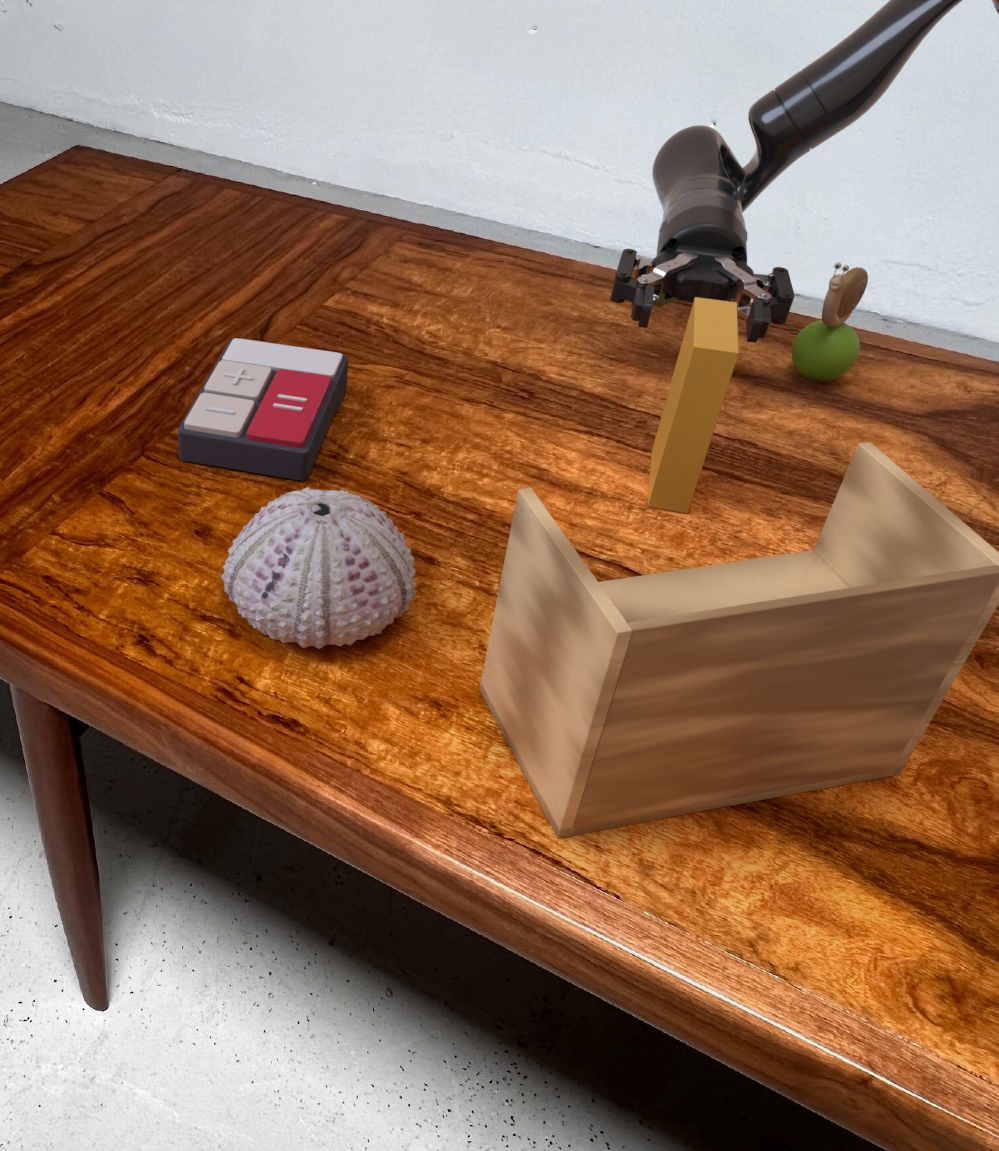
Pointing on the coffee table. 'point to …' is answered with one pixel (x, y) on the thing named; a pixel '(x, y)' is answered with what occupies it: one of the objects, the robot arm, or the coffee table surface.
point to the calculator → (264, 409)
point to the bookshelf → (734, 658)
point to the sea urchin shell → (320, 569)
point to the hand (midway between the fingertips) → (699, 324)
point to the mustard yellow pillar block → (693, 403)
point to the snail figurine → (832, 330)
